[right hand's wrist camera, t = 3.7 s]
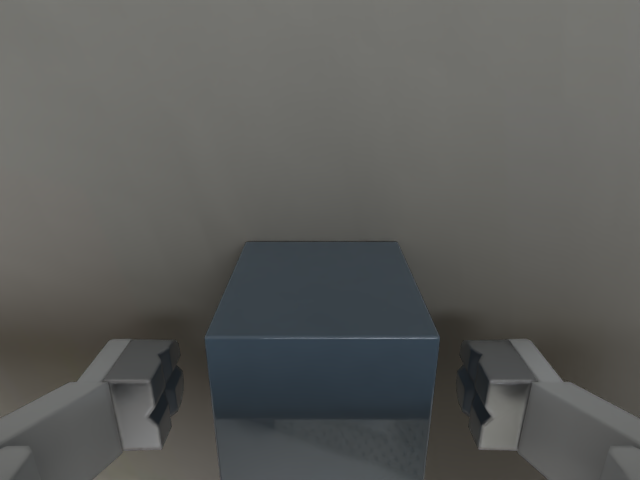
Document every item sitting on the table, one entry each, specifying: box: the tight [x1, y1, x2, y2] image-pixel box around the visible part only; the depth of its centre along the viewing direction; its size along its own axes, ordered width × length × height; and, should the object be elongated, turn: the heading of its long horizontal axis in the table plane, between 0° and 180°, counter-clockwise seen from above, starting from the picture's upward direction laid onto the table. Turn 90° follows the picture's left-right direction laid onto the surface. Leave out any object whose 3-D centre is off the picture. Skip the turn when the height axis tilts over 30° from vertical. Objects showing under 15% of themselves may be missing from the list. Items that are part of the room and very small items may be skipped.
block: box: [204, 242, 440, 480], centre depth 10 cm, size 5×4×4 cm
